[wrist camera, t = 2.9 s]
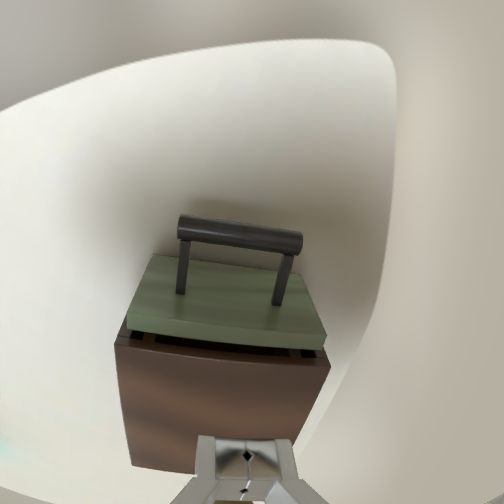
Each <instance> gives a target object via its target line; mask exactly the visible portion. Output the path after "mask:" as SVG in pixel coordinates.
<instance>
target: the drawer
mask: <svg viewBox="0 0 504 504" xmlns="http://www.w3.org/2000/svg"><path fill="white" fill-rule="evenodd" d="M177 239H181V240H180V248H179V257H178V258H176V257H169V256H162V255H155V254H153V256H152V258H151V260H150V262H149V264H148V266H147V268H146V270H145V273H144V275H143V277H142V279H141V281H140V284H139V286H138V288H137V290H136V292H135V295H134V297H133V299H132V301H131V304H130V306H129V308H128V311H127V328H128V329H131V330H137V331H143V332H144V335H143V339H142V340H143V341H149V342H155V343H162V344H169V345H176V346H183V347H190V348H198V349H206V350H215V351H224V352H234V353H244V354H256V355H268V356H282V357H299V358H302V356H301V353H300V350H299V349H307V350H322V347H323V344H324V342H325V339H326V337H327V334H326V332H325V329H324V327H323V325H322V322H321V320H320V318H319V315H318V313H317V311H316V308H315V306H314V304H313V302H312V299H311V297H310V295H309V293H308V290H307V288H306V286H305V284H304V281H303V279H302V277H301V275H300V274H295V273H290V271H291V267H292V263H293V259H294V255H295V256H298V255H299V254H300V252H301V249H302V245H303V235H302V233H301V232H297V231H291V230H285V229H279V228H272V227H266V226H259V225H253V224H246V223H239V222H233V221H226V220H219V219H212V218H205V217H198V216H191V215H184V214H181V215H180V217H179V221H178V227H177ZM191 241H196V242H203V243H210V244H217V245H224V246H231V247H239V248H246V249H253V250H260V251H267V252H274V253H281V254H282V258H281V262H280V266H279V270H278V271H272V270H264V269H257V268H249V267H242V266H234V265H227V264H219V263H212V262H205V261H198V260H190V259H189V256H190V247H191Z"/></svg>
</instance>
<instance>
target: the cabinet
mask: <svg viewBox="0 0 504 504" xmlns="http://www.w3.org/2000/svg"><path fill="white" fill-rule="evenodd" d="M143 335H144V332H143V331H137V330H131V329H128V328H127V314H126V316H125V318H124V321H123V323H122V325H121V328H120V330H119V333H118V335H117V338H116V340H115V343H114V350H115V361H116V370H117V379H118V387H119V395H120V402H121V409H122V415H123V421H124V427H125V433H126V438H127V444H128V449H129V454H130V459H131V464H132V466H137V467H142V468H148V469H154V470H161V471H168V472H176V473H184V474H194V475H195V460H196V450H197V443H198V435H204V436H214V437H226V438H242V439H245V438H248V439H289V440H290V441H291V444H292V446H293V444H294V442H295V441H296V439H297V437H298V435H299V433H300V431H301V429H302V427H303V425H304V423H305V421H306V419H307V417H308V415H309V413H310V411H311V409H312V407H313V405H314V403H315V401H316V399H317V397H318V395H319V393H320V390H321V388H322V386H323V384H324V382H325V380H326V377H327V375H328V373H329V371H330V368H331V365H330V362H329V360H328V357H327V355H326V352H325V350H324V347H322V350H307V349H299V350H300V353H301V356H302V358H299V357H282V356H268V355H256V354H244V353H234V352H224V351H215V350H206V349H198V348H190V347H183V346H176V345H169V344H162V343H155V342H149V341H143V340H142V339H143Z"/></svg>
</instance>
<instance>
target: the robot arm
mask: <svg viewBox="0 0 504 504" xmlns="http://www.w3.org/2000/svg"><path fill="white" fill-rule="evenodd" d="M215 500H226V501H265V504H328V502H326V501H325V500H324V499H323V498H322V497H321V496H320V495H319V494H318V493H317V492H316V491H315V490H314V489H312V488H311V487H310V486H309V485H308V484H307V483H306V482H305V481H304V480H303V479H299V478H298V473H297V468H296V463H295V458H294V453H293V449H292V444H291V441H290V440H289V439H248V438H245V439H242V438H226V437H214V436H204V435H198V443H197V450H196V460H195V477H193V478H192V479H191V480H190V481H189V482H188V484H187V485H186V486H185V487H184V488H183V489H182V491H181V492H180V493H179V494H178V495H177V496H176V497H175V499H174V500H173V501H172V502H171V503H170V504H213V503H214V501H215ZM486 504H504V493H503V494H502V495H500V496H498V497H497V498H495V499H493V500H491V501H489V502H487V503H486Z"/></svg>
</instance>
